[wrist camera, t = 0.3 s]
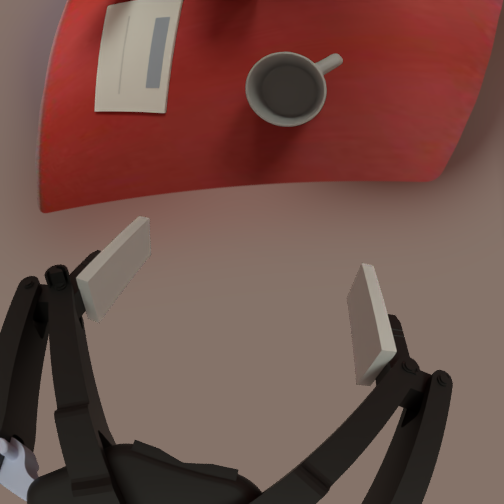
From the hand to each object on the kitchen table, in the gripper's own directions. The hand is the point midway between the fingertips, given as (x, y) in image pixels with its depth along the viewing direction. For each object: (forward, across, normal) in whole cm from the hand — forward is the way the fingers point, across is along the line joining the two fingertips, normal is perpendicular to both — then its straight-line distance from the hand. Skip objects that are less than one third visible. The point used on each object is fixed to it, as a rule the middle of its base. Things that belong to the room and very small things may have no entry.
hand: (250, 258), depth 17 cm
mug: (+28, +1, +11) cm, 30 cm away
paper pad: (+27, -25, +14) cm, 40 cm away
